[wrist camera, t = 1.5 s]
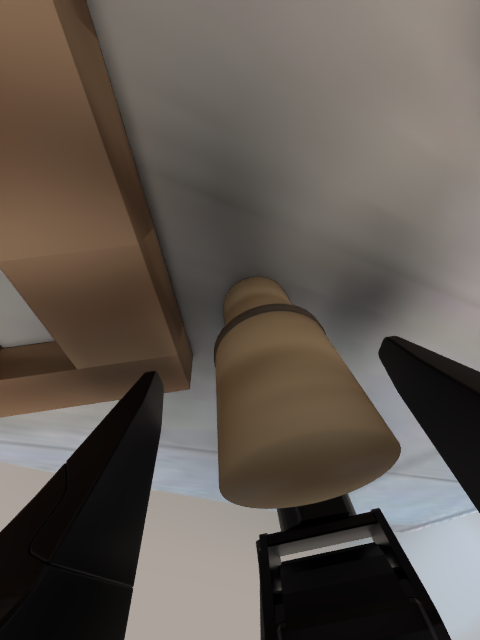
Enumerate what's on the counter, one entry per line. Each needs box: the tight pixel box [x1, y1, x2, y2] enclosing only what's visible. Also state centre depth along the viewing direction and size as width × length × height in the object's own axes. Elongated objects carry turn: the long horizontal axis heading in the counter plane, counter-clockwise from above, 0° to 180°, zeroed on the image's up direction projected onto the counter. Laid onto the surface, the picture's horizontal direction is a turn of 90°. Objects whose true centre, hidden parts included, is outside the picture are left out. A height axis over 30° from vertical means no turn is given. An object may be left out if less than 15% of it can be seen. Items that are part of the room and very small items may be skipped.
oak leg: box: [214, 277, 401, 509], centre depth 9 cm, size 4×4×8 cm
